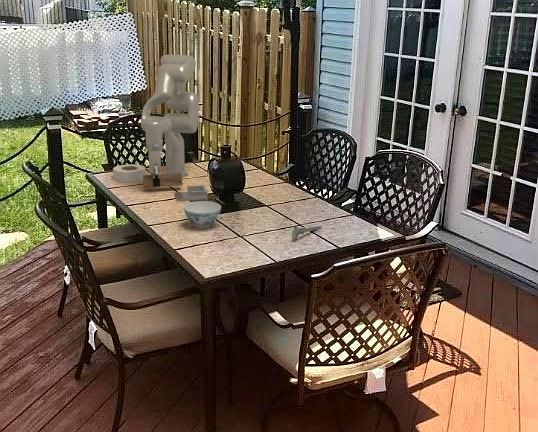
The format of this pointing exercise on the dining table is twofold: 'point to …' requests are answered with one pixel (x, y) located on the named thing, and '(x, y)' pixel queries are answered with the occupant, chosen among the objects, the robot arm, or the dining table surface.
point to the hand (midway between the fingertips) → (156, 184)
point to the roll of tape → (129, 173)
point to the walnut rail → (163, 180)
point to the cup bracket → (192, 193)
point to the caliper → (302, 231)
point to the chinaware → (202, 213)
